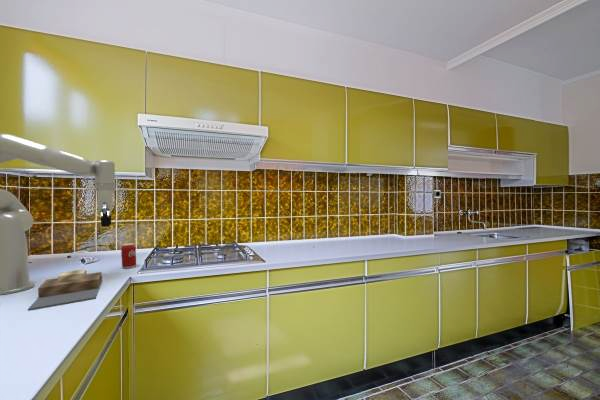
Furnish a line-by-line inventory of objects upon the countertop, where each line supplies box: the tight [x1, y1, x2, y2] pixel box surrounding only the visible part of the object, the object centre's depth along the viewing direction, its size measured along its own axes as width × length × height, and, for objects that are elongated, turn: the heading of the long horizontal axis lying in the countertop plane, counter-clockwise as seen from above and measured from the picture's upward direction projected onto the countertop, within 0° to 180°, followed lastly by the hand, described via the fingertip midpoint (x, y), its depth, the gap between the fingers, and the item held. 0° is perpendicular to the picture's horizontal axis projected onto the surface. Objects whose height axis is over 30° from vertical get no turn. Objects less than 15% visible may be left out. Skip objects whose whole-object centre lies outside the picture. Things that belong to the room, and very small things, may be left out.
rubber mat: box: [27, 288, 100, 312], centre depth 102 cm, size 18×11×1 cm, turn 121°
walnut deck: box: [37, 271, 103, 298], centre depth 112 cm, size 18×12×4 cm, turn 121°
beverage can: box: [120, 242, 137, 269], centre depth 144 cm, size 6×6×12 cm
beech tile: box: [57, 268, 88, 283], centre depth 113 cm, size 8×7×2 cm
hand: (106, 225), depth 128 cm, fingers open, 9 cm apart
